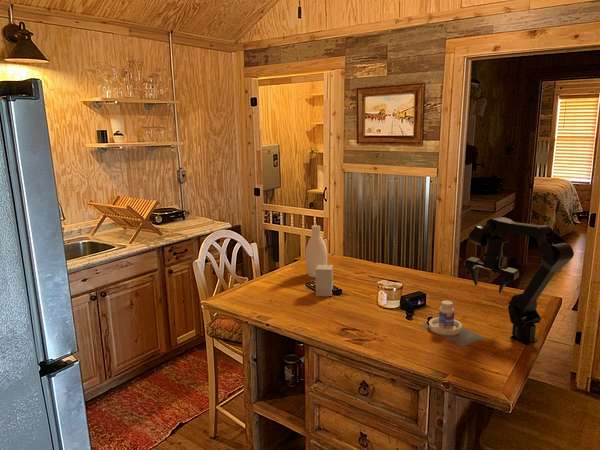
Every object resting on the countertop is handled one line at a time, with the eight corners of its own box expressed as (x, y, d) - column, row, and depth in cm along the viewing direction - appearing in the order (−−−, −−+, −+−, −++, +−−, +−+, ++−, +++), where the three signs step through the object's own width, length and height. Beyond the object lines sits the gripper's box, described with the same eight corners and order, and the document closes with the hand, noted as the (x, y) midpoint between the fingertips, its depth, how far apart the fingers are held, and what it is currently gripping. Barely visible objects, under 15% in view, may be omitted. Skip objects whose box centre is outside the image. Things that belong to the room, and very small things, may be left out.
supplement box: (331, 296, 206) (331, 269, 204) (315, 296, 208) (314, 269, 205) (333, 290, 214) (333, 264, 211) (317, 290, 215) (317, 264, 212)
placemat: (485, 338, 165) (485, 337, 165) (462, 347, 159) (462, 346, 159) (441, 318, 182) (441, 318, 182) (419, 326, 176) (419, 325, 175)
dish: (468, 330, 171) (468, 325, 170) (446, 338, 165) (446, 333, 164) (443, 319, 180) (444, 314, 180) (422, 326, 175) (422, 321, 174)
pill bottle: (446, 331, 169) (447, 306, 167) (435, 326, 174) (436, 301, 171) (456, 327, 172) (458, 303, 170) (445, 322, 176) (446, 298, 174)
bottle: (331, 273, 238) (331, 225, 232) (320, 279, 229) (320, 229, 223) (312, 270, 244) (312, 222, 238) (301, 276, 234) (300, 227, 229)
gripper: (528, 252, 170) (521, 290, 175) (478, 239, 183) (473, 275, 188) (516, 259, 163) (509, 299, 168) (465, 246, 175) (460, 283, 180)
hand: (487, 289), depth 176 cm, fingers open, 9 cm apart
